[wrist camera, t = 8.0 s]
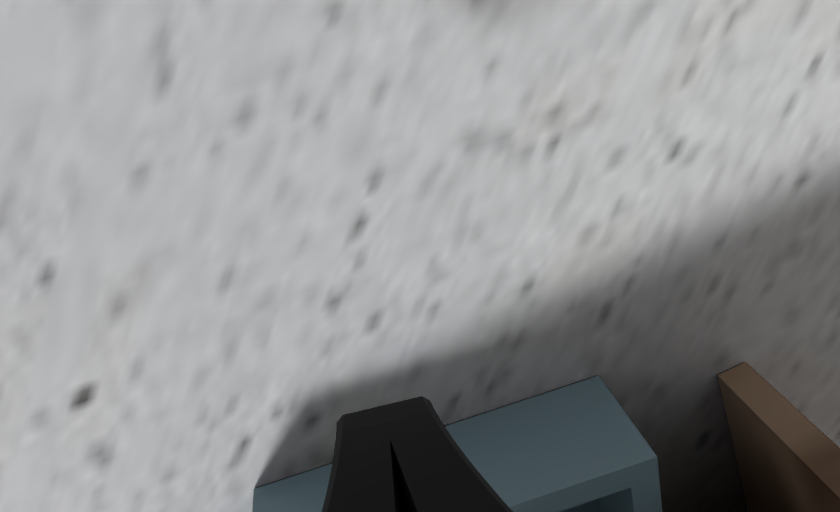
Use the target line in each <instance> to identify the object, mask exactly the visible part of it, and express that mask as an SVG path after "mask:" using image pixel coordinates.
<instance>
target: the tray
mask: <svg viewBox="0 0 840 512" xmlns="http://www.w3.org/2000/svg"><path fill="white" fill-rule="evenodd" d="M445 428H446V429H447V430H448V432H449V433H450V435H451V436H452V438H453V439H454V440H455V442H456V443H457V445H458V446H459V447H460V449H461V450H462V451H463V453H464V454H465V455H466V457H467V458H468V459H469V460H470V462H471V463H472V464H473V466H474V467H475V468H476V469H477V471H478V472H479V473H480V474H481V475H482V476H483V478H484V479H485V480H486V481H487V482H488V484H489V485H490V486H491V487H492V488H493V489H494V491H495V492H496V493H497V494H498V495H499V496H500V498H501V499H502V500H503V501H504V502H505V503H506V504H507V506H508V507H509V508H510V509H511V510H512V511H513V512H662V503H661V492H660V480H659V469H658V458H657V456H656V454H655V453H654V451H653V450H652V449H651V447H650V446H649V444H648V443H647V442H646V440H645V439H644V437H643V436H642V435H641V433H640V432H639V431H638V429H637V428H636V426H635V425H634V424H633V422H632V421H631V419H630V418H629V417H628V415H627V414H626V413H625V411H624V410H623V408H622V407H621V406H620V404H619V403H618V401H617V400H616V399H615V397H614V396H613V395H612V393H611V392H610V390H609V389H608V388H607V386H606V385H605V383H604V382H603V381H602V379H601V378H600V376H596V377H593V378H590V379H587V380H584V381H581V382H578V383H575V384H572V385H569V386H565V387H562V388H559V389H556V390H553V391H550V392H547V393H544V394H541V395H538V396H535V397H532V398H529V399H526V400H523V401H520V402H517V403H514V404H511V405H508V406H505V407H502V408H499V409H496V410H493V411H490V412H486V413H483V414H480V415H477V416H474V417H471V418H468V419H465V420H462V421H459V422H456V423H453V424H450V425H447V426H445ZM331 468H332V464H328V465H325V466H322V467H319V468H316V469H313V470H310V471H307V472H304V473H301V474H298V475H295V476H292V477H289V478H286V479H283V480H280V481H277V482H274V483H271V484H268V485H265V486H262V487H259V488H256V489H254V496H253V512H322V508H323V504H324V500H325V497H326V493H327V488H328V483H329V478H330V473H331Z"/></svg>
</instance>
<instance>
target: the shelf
mask: <svg viewBox="0 0 840 512" xmlns="http://www.w3.org/2000/svg"><path fill="white" fill-rule="evenodd" d="M717 376H718V380H719V385H720V389H721V394H722V398H723V403H724V407H725V411H726V416H727V420H728V425H729V429H730V434H731V438H732V443H733V447H734V452H735V456H736V461H737V465H738V470H739V474H740V478H741V483H742V487H743V492H744V496H745V501H746V505H747V510H748V512H840V448H839V447H838V446H837V445H836V444H835V443H833V442H832V441H831V440H830V439H829V438H828V437H827V436H826V435H825V434H824V433H823V432H821V431H820V430H819V429H818V428H817V427H816V426H815V425H814V424H813V423H812V422H811V421H809V420H808V419H807V418H806V417H805V416H804V415H803V414H802V413H801V412H800V411H799V410H797V409H796V408H795V407H794V406H793V405H792V404H791V403H790V402H789V401H788V400H787V399H785V398H784V397H783V396H782V395H781V394H780V393H779V392H778V391H777V390H776V389H774V388H773V387H772V386H771V385H770V384H769V383H768V382H767V381H766V380H765V379H764V378H762V377H761V376H760V375H759V374H758V373H757V372H756V371H755V370H754V369H753V368H752V367H750V366H749V365H748V364H747V363H746V362H745V363H743V364H740V365H738V366H736V367H734V368H732V369H730V370H727V371H725V372H723V373H721V374H719V375H717Z"/></svg>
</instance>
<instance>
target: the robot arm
mask: <svg viewBox="0 0 840 512" xmlns="http://www.w3.org/2000/svg"><path fill="white" fill-rule="evenodd" d="M322 512H513V511H512V510H511V509H510V508H509V507H508V506H507V504H506V503H505V502H504V501H503V500H502V499H501V498H500V496H499V495H498V494H497V493H496V492H495V491H494V489H493V488H492V487H491V486H490V485H489V484H488V482H487V481H486V480H485V479H484V478H483V476H482V475H481V474H480V473H479V472H478V471H477V469H476V468H475V467H474V466H473V464H472V463H471V462H470V460H469V459H468V458H467V457H466V455H465V454H464V453H463V451H462V450H461V449H460V447H459V446H458V445H457V443H456V442H455V440H454V439H453V438H452V436H451V435H450V433H449V432H448V430H447V429H446V428H445V426H444V424H443V423H442V421H441V420H440V418H439V417H438V415H437V413H436V411H435V410H434V408H433V406H432V404H431V402H430V401H429V400H428V399H426V398H424V397H422V396H421V397H417V398H413V399H409V400H404V401H400V402H396V403H392V404H388V405H383V406H379V407H375V408H371V409H367V410H362V411H358V412H354V413H350V414H345V415H343V416H342V417H341V418H340V419H339V421H338V422H337V431H336V442H335V450H334V457H333V463H332V468H331V473H330V478H329V483H328V488H327V493H326V497H325V500H324V504H323V508H322Z"/></svg>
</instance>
